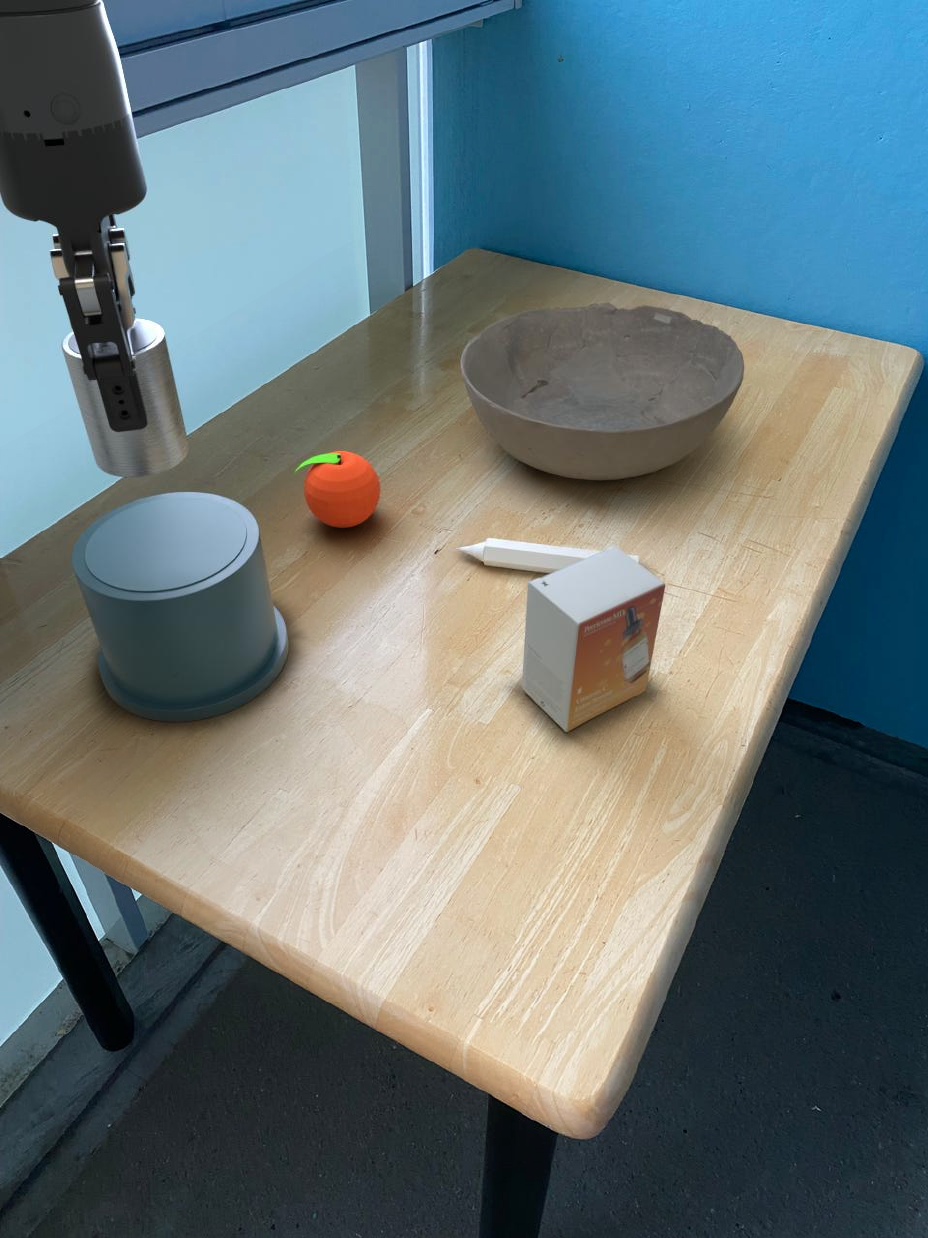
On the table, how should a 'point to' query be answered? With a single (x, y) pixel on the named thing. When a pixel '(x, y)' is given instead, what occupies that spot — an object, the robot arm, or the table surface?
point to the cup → (165, 425)
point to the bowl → (601, 387)
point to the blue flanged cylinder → (180, 606)
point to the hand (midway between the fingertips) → (129, 401)
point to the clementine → (341, 488)
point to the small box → (590, 636)
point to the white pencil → (527, 555)
